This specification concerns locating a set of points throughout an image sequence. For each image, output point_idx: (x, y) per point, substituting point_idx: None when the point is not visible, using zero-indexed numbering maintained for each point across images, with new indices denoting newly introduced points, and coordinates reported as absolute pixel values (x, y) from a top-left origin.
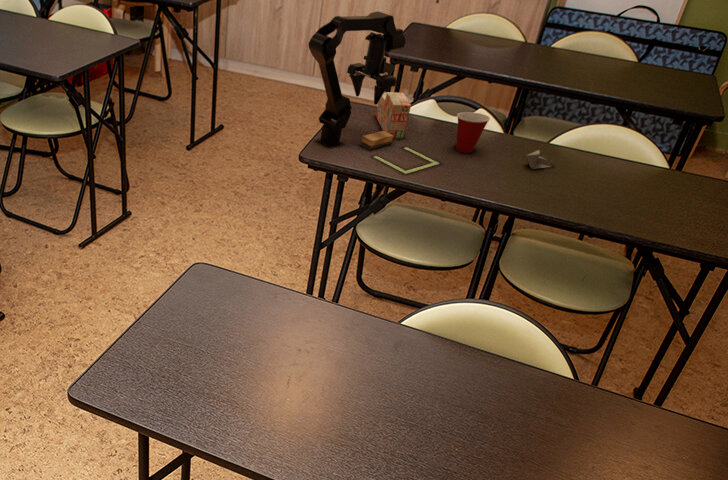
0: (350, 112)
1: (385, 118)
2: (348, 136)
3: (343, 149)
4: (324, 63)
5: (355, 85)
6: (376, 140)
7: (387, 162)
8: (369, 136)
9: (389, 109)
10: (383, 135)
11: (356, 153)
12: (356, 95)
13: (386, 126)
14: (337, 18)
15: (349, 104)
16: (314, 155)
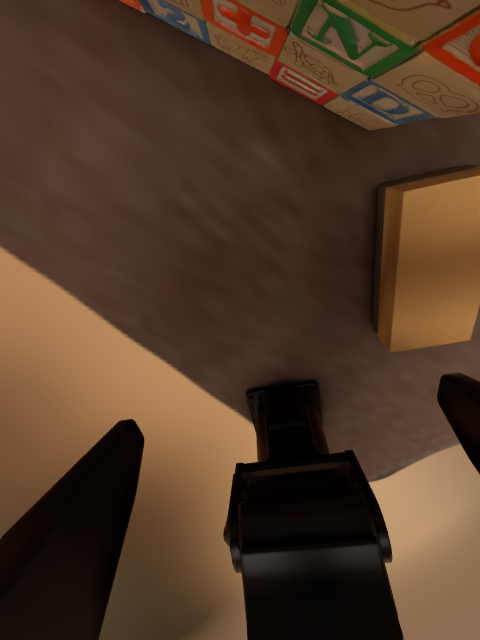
0: (370, 514)
1: (256, 32)
2: (257, 324)
3: (360, 394)
4: None
5: (98, 634)
6: (474, 312)
7: None
8: (417, 325)
9: (387, 34)
10: (464, 241)
11: (417, 372)
12: (138, 451)
13: (334, 90)
14: None
15: (389, 595)
16: None
